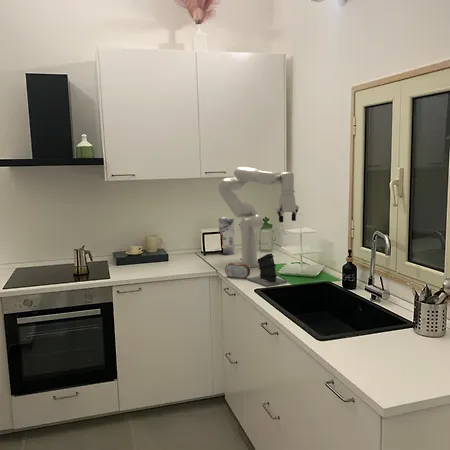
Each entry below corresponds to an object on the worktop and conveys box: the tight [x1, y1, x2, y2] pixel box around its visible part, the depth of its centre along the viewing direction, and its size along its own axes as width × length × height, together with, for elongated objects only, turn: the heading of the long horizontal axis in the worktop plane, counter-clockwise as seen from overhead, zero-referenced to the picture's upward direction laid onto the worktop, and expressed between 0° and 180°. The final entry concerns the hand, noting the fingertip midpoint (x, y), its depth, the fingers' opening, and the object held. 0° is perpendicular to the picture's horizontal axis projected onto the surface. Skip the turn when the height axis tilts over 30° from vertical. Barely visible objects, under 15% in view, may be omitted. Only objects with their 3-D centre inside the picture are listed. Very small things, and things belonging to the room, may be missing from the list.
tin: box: [224, 262, 251, 279], centre depth 274 cm, size 15×3×8 cm, turn 66°
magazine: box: [257, 253, 278, 282], centre depth 264 cm, size 4×13×15 cm, turn 32°
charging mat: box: [246, 275, 288, 288], centre depth 265 cm, size 18×14×4 cm
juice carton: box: [218, 216, 235, 256], centre depth 342 cm, size 9×10×27 cm
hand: (287, 221), depth 284 cm, fingers open, 9 cm apart
